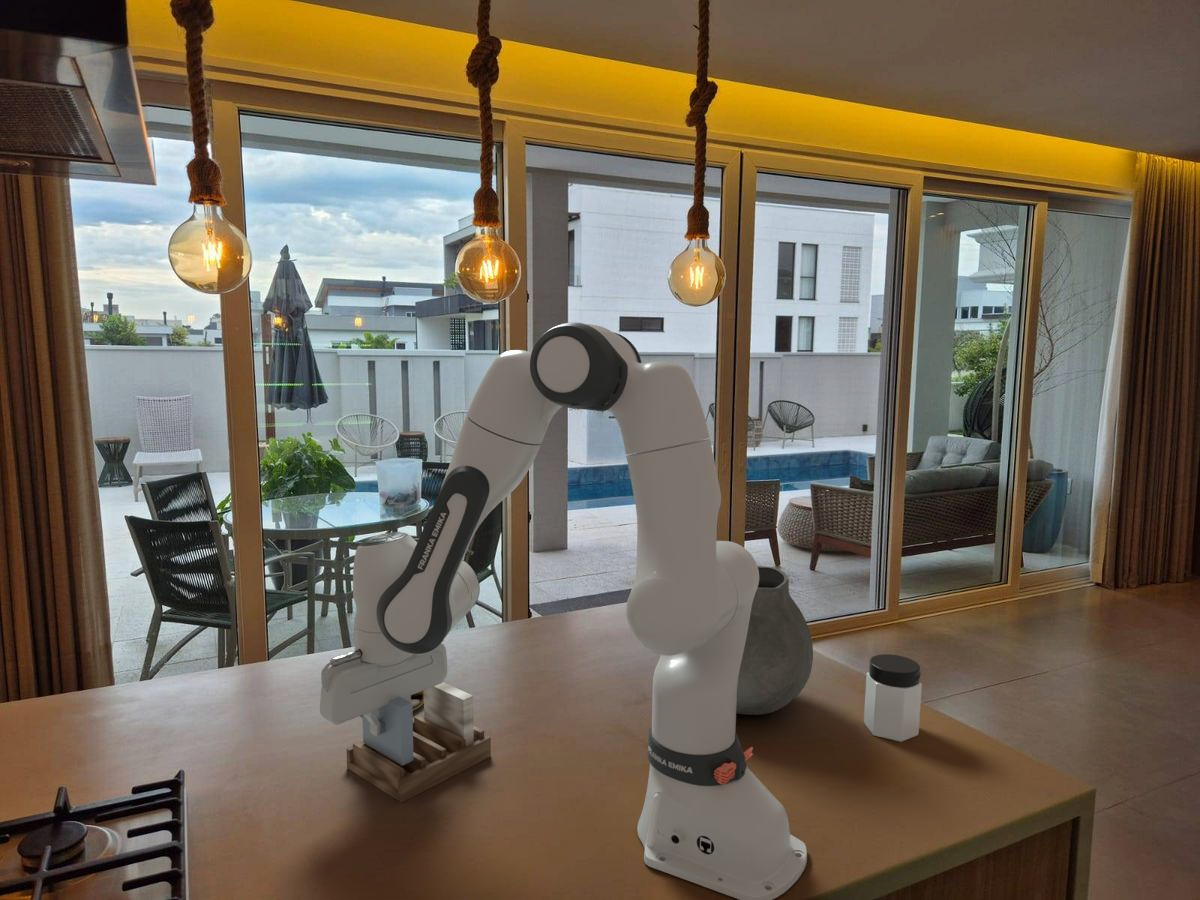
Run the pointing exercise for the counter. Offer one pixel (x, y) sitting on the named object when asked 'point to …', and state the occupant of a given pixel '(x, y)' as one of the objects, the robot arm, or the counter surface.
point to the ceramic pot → (773, 648)
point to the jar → (893, 697)
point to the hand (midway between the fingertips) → (387, 729)
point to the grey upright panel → (393, 731)
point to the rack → (427, 747)
